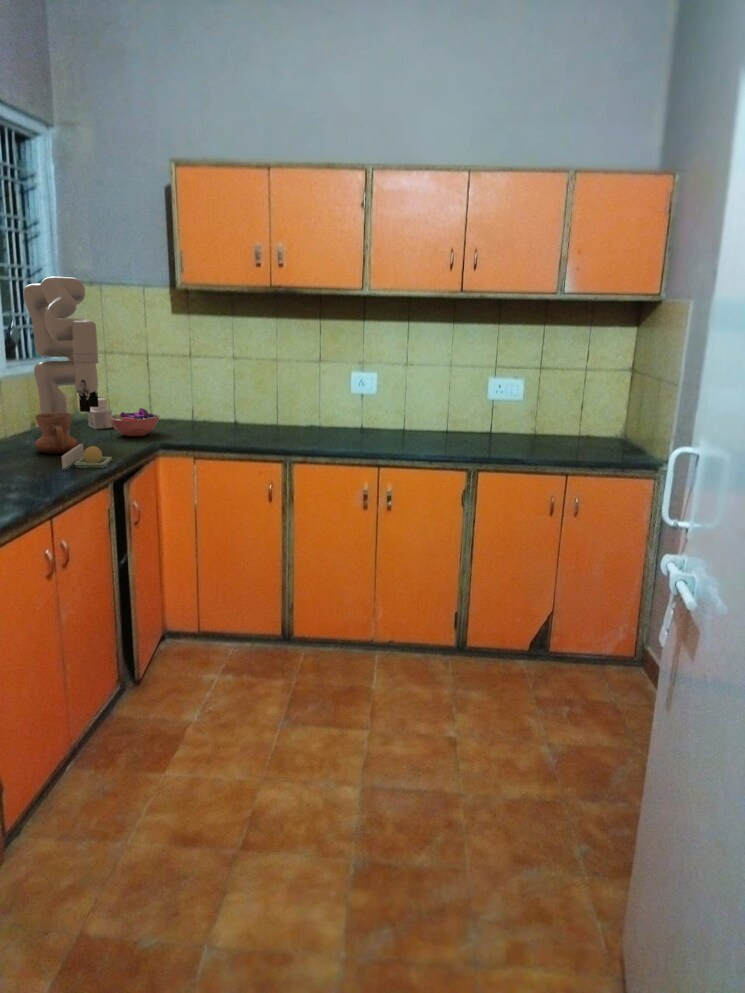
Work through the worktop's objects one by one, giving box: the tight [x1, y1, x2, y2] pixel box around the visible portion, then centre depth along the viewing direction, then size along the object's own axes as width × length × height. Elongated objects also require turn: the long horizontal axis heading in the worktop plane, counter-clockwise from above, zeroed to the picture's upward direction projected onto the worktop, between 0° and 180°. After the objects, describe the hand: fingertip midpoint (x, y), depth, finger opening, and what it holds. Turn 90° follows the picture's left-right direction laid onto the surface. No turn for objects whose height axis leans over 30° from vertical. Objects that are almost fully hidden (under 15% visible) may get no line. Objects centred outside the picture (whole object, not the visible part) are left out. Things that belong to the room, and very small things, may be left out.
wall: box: [61, 443, 85, 469], centre depth 239 cm, size 20×1×5 cm, turn 6°
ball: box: [84, 445, 103, 463], centre depth 238 cm, size 6×6×6 cm
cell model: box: [110, 408, 161, 437], centre depth 288 cm, size 17×20×11 cm
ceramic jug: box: [34, 412, 78, 455], centre depth 253 cm, size 18×14×14 cm
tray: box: [73, 456, 113, 466], centre depth 239 cm, size 10×10×2 cm
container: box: [87, 396, 113, 430], centre depth 302 cm, size 8×8×13 cm
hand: (89, 409), depth 234 cm, fingers open, 9 cm apart
